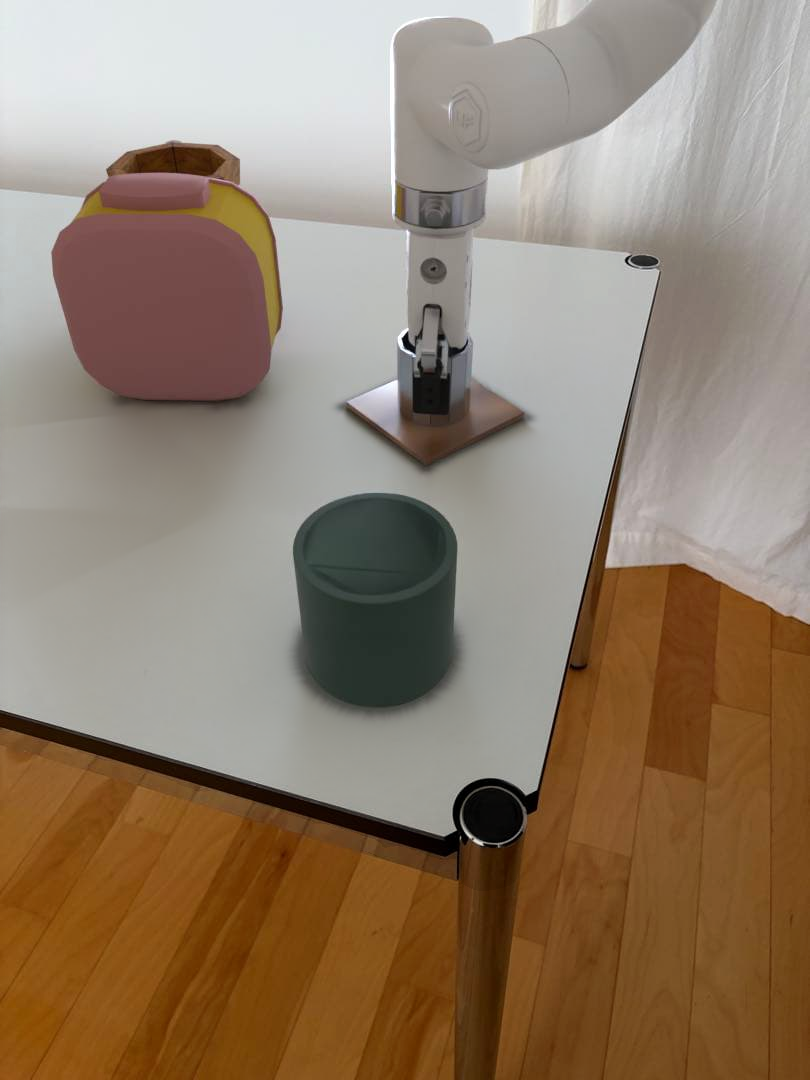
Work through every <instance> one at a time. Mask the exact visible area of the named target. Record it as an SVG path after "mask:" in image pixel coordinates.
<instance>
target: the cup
mask: <svg viewBox="0 0 810 1080" xmlns="http://www.w3.org/2000/svg"><path fill="white" fill-rule="evenodd" d="M422 335H423V330H422ZM396 340H397V341H396V356H397V359H396V361H397V362H396V363H397V365H396V366H397V369H396V370H397V379H398V405H399V410H400V413H401V414H402V415H403V416H404V417H405V418H406V419H407V420H409V421H411V422H413V423H416V424H419V425H423V426H431V427H437V426H446V425H450V424H453V423H455V422H458V421H459V420H461V419H462V418H463V417H464V416H465V415H466V414H467V412H468V409H469V407H470V392H471V379H472V372H473V355H474V354H473V353H474V352H473V351H474V341H473V339H472V337H471V334H470V333H469V332H468V334H467V341H466V344H465V345H464V346H463V347H462V348H461V349H458V347H449V355H448V370H447V373H450V403H449V413H448V414H447V415H433V414H417V413H414V412H413V371H415V356H416V346H413V345H412V344H411V343H410V342H409V335H408V327H407V328H405V329H404V330H403V331H402V332H401V333H400V334H399V336H398V337H397V338H396ZM438 340H445V334H439V335H438ZM437 358H439V359H440V360H442V349H437Z"/></svg>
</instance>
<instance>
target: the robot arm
mask: <svg viewBox="0 0 810 1080" xmlns="http://www.w3.org/2000/svg"><path fill="white" fill-rule="evenodd" d="M717 2H718V0H588V1H586V3H585V4H584V5H583V7H581V9H579V11H578V12H577V13H576V14H575V15H574V16H573V17H572V18H571V19H569V21H567V22H566V23H565V24H562V25H559V26H556V27H551V28H546V29H543V30H539V31H537V32H532V33H528V34H525V35H522V36H518V37H515V38H513V39H509V40H503V41H499V42H495V41H494V38H493V37H494V36H493V35H492V34H491V32H490V30H489V29H488V28H487V27H486V26H485V25H484V24H482V23H480V22H478V21H475V20H472V19H468V18H464V17H458V16H457V17H456V16H431V17H429V16H428V17H423V18H418V19H414V20H411V21H408V22H406V23H404V24H402V25H401V26H400V27H399V28H398V29H397V30H396V31H395V33H394V35H393V37H392V39H391V45H390V50H389V51H390V55H389V56H390V57H389V60H390V63H389V64H390V65H389V67H390V70H389V71H390V127H391V129H390V131H391V132H390V133H391V135H390V138H391V139H390V141H391V191H392V192H391V193H392V194H391V195H392V196H391V197H392V198H391V199H392V204H391V205H392V213H391V214H392V220H393V221H394V223H395V224H396V225H397V226H399V227H400V228H402V229H405V230H406V309H407V310H406V312H407V328H408V335H409V342H410V343H411V344H412V345H413V346H416V356H415V371H413V412H414V413H417V414H433V415H447V414H448V413H449V403H450V373H447V370H448V355H449V347H458V349H461V348H462V347H463V346H464V345H465V344H466V341H467V334H468V333H469V325H470V317H471V316H470V315H471V304H472V281H473V279H472V278H473V260H474V259H473V256H474V230H475V229H477V228H479V227H480V226H481V225H482V224H484V223H485V220H486V218H487V217H486V216H487V198H488V180H489V170H493V171H495V170H496V171H497V170H503V169H508V168H511V167H515V166H517V165H520V164H522V163H525V162H527V161H531V160H533V159H535V158H538V157H540V156H543V155H545V154H546V153H548V152H552V151H555V150H556V149H560V148H561V147H564V146H567V145H570V144H573V143H575V142H577V141H578V142H579V141H580V140H583V139H586V138H588V137H591V136H593V135H595V134H597V133H598V132H601V131H602V130H603V129H605V128H607V127H608V126H609V125H611V124H612V123H613V122H614V121H616V120H617V119H618V118H620V116H622V115H623V114H624V113H625V112H626V111H627V110H628V109H630V108H631V107H632V106H633V105H634V104H636V102H637V101H638V100H639V99H640V98H642V96H644V95H645V94H646V93H647V92H649V90H650V89H651V88H653V86H654V85H656V84H657V83H658V82H659V81H660V80H662V79H663V77H664V76H666V74H667V73H669V71H670V70H671V69H672V68H673V67H674V66H676V64H677V63H678V62H679V61H680V60H681V59H682V58H683V56H684V55H685V54H686V53H687V52H688V51H689V49H690V48H691V46H692V45H693V44H694V42H695V41H696V40H697V38H698V36H699V35H700V33H701V31H702V29H703V27H704V26H705V25H706V24H707V22H708V21H709V19H710V18H711V16H712V13H713V11H714V9H715V7H716V4H717ZM422 330H423V335H422ZM439 334H445V340H438V335H439ZM437 349H442V360H440V359H439V358H437Z"/></svg>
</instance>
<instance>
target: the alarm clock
mask: <svg viewBox="0 0 810 1080" xmlns="http://www.w3.org/2000/svg"><path fill="white" fill-rule="evenodd" d="M277 248H278V247H277V239H276V236H275V232H274V230H273V226H272V222H271V220H270V215H269V214H268V212H267V211H266V209H265V208H264V207H263V206H262V205H261V203H260V201H258V198H256V197H255V195H254V194H252V193H250V192H249V191H248V190H245V188H243V187H241V186H240V187H239V186H238V185H236V184H235V183H233V182H229V181H224V180H219V179H214V178H206V177H205V176H198V175H191V174H178V173H136V174H123V175H113V176H109V177H108V176H107V178H106V180H105V181H102V182H101V183H100V184H99V185H97V186H96V187H95V188H94V189H93V190H91V191H90V192H88V193H87V194H86V195H85V197H84V200H83V202H82V205H81V207H80V209H79V211H78V212H77V214H76V215H75V217H74V218H73V219H72V221H71V222H70V223H69V224H68V225H66V226H65V227H64V228H63V229H61V230H60V231H59V232H58V235H57V237H56V240H55V242H54V245H53V246H52V249H51V252H50V253H51V254H50V255H51V267H52V277H53V281H54V284H55V288H56V291H57V295H58V298H59V303H60V305H61V309H62V312H63V315H64V319H65V322H66V326H67V329H68V334H69V336H70V340H71V344H72V347H73V350H74V353H75V354H76V357H77V358H78V360H79V362H80V364H81V366H82V368H83V370H84V371H85V372H86V373H87V374H88V375H89V376H90V377H91V378H93V380H94V381H95V382H96V383H97V384H99V385H100V386H101V387H103V388H105V389H107V390H109V391H111V392H113V393H114V394H116V395H118V396H120V397H126V398H130V399H131V398H132V399H136V400H137V399H138V400H143V401H202V402H203V401H204V402H205V401H207V402H212V401H213V402H218V401H225V400H231V399H238V398H240V397H243V396H244V395H246V394H248V393H249V392H251V391H253V390H254V389H256V388H258V387H259V386H260V385H261V383H262V382H263V380H264V379H265V378H266V376H267V374H268V372H269V371H270V369H271V359H272V350H273V346H274V342H275V339H276V337H277V335H278V333H279V331H280V330H281V328H282V320H283V311H284V306H283V297H282V287H281V286H282V285H281V278H280V277H281V276H280V266H279V258H278V250H277Z"/></svg>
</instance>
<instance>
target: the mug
mask: <svg viewBox="0 0 810 1080" xmlns="http://www.w3.org/2000/svg"><path fill="white" fill-rule="evenodd" d="M105 172H106V175H107V178H108V177H109V176H113V175H123V174H136V173H178V174H191V175H198V176H205V177H206V178H214V179H219V180H224V181H229V182H233V183H235V184H236V185H238V186H239V187H241V159H240V158H239V157H238V156H236V155H235V154H233V153H231V152H229V150H227V149H225V148H223V147H222V146H221V145H219V144H212V143H211V144H210V143H195V142H194V143H193V142H182V141H181V140H177V139H171V140H168V141H166V142H164V143H162V144H157V145H152V146H148V147H143V148H138V149H132V150H127V151H126V152H124V153H123V154H121V156H119V157H118V158H117V159H116V160H115V161H113V163H112V164H111V165H109V166H108V167H107V168H106V169H105Z"/></svg>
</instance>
